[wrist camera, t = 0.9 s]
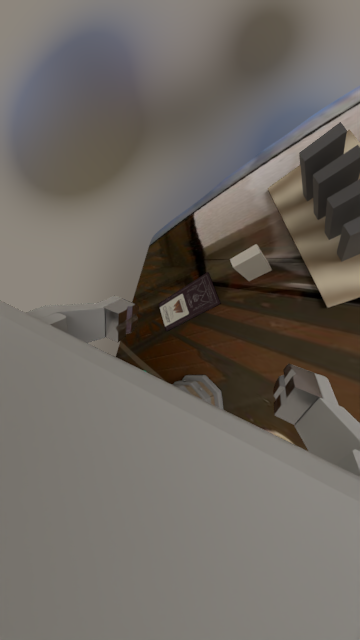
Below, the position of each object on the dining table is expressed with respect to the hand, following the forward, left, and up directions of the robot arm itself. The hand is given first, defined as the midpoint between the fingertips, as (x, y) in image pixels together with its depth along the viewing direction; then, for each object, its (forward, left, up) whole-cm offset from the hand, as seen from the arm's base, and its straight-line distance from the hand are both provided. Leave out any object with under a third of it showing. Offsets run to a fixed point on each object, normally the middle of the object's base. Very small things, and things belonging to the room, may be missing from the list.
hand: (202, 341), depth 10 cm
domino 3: (-24, -5, -32) cm, 41 cm away
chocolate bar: (+4, -25, -34) cm, 42 cm away
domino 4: (-21, -2, -32) cm, 39 cm away
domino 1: (-10, -11, -33) cm, 36 cm away
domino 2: (-27, -9, -32) cm, 43 cm away
